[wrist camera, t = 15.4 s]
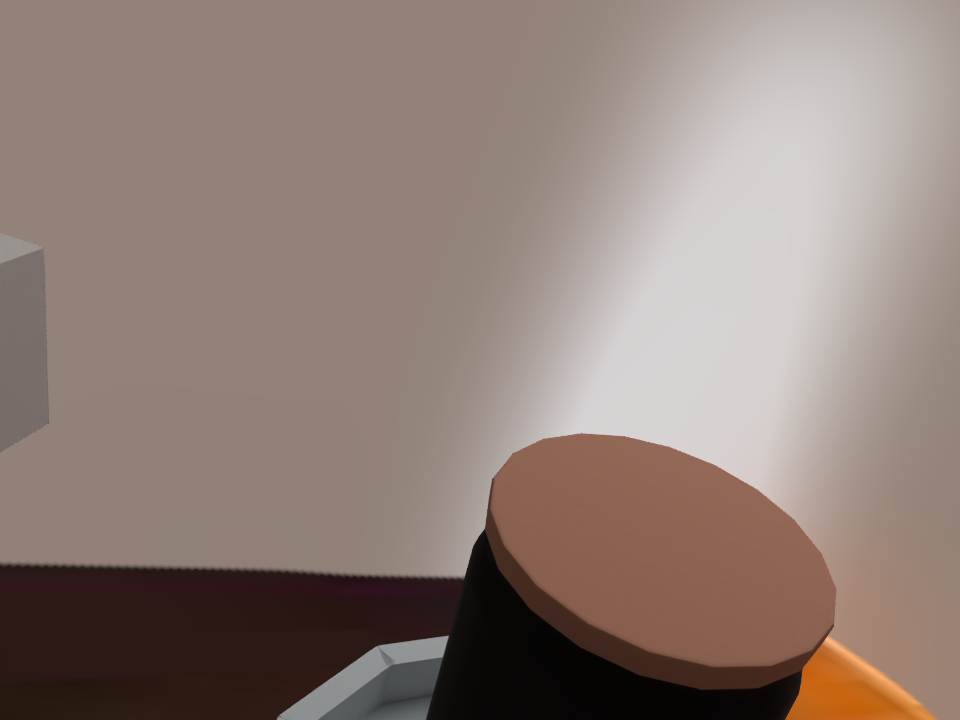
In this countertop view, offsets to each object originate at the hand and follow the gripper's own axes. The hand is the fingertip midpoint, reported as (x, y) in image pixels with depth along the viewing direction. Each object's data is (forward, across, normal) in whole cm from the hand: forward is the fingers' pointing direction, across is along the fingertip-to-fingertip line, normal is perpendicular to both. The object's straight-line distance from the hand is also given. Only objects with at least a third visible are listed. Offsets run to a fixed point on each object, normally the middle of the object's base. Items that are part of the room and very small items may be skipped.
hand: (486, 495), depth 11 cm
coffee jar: (+14, +2, -27) cm, 31 cm away
